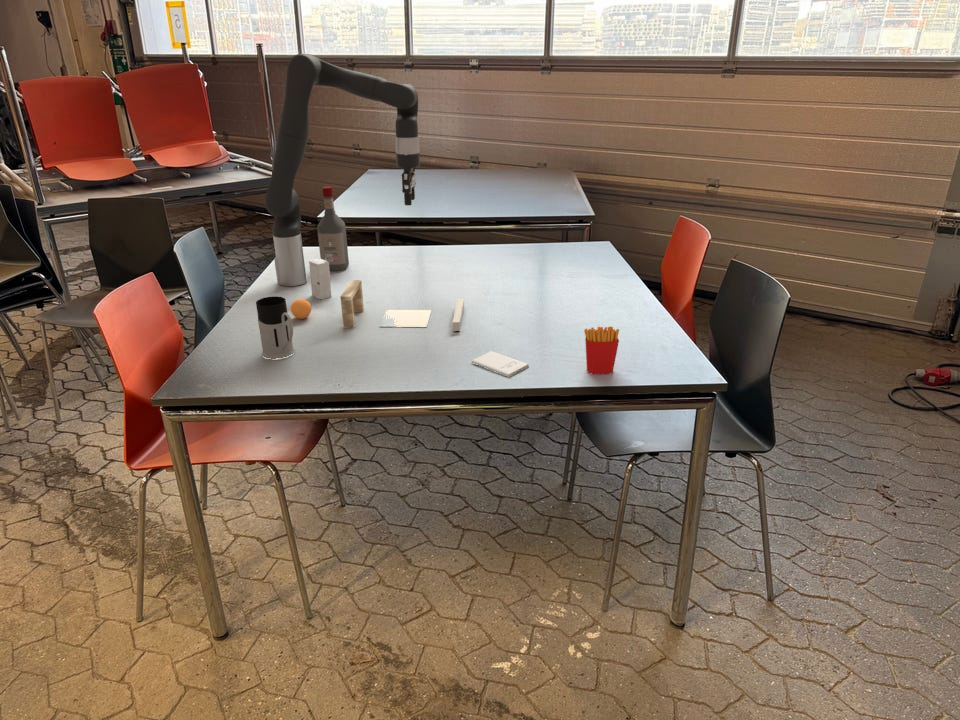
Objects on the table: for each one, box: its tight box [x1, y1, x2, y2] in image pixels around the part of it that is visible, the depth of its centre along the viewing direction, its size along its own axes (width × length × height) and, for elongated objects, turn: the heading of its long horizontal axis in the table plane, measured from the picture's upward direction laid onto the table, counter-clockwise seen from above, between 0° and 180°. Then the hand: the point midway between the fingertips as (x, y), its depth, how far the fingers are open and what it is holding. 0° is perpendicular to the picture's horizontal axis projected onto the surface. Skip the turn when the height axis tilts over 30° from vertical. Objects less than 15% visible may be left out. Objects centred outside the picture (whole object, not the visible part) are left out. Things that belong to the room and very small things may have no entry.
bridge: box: [339, 279, 365, 328], centre depth 200 cm, size 3×15×10 cm, turn 178°
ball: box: [290, 298, 312, 320], centre depth 202 cm, size 6×6×6 cm
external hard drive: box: [471, 350, 530, 378], centre depth 171 cm, size 2×8×12 cm
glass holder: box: [255, 295, 296, 359], centre depth 174 cm, size 9×14×15 cm, turn 43°
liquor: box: [316, 185, 350, 273], centre depth 243 cm, size 9×9×30 cm
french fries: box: [584, 326, 620, 375], centre depth 165 cm, size 8×4×12 cm, turn 90°
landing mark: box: [383, 309, 433, 328], centre depth 202 cm, size 14×14×1 cm
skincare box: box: [308, 257, 332, 300], centre depth 219 cm, size 6×4×12 cm
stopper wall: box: [452, 298, 465, 332], centre depth 200 cm, size 2×20×3 cm, turn 177°
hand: (409, 202), depth 220 cm, fingers open, 8 cm apart
